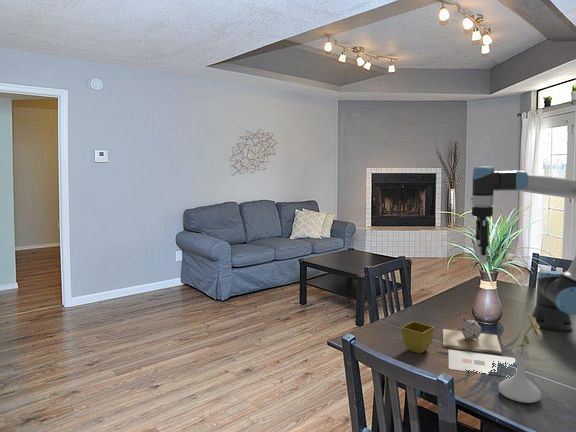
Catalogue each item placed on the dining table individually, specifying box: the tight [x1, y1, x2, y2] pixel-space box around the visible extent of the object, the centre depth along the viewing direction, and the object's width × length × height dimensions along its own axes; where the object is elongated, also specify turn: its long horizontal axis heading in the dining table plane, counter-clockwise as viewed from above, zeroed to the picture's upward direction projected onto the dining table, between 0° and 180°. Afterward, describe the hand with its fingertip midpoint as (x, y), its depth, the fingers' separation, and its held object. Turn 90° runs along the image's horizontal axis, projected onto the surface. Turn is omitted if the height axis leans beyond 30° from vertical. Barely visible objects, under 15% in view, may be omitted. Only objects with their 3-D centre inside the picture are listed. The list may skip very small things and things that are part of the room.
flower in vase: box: [497, 312, 543, 404], centre depth 130 cm, size 13×11×25 cm
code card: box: [447, 349, 516, 378], centre depth 152 cm, size 22×16×1 cm
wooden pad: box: [442, 328, 502, 355], centre depth 170 cm, size 20×16×1 cm
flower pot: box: [401, 321, 435, 354], centre depth 163 cm, size 9×9×9 cm
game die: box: [457, 317, 485, 341], centre depth 169 cm, size 9×8×10 cm
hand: (481, 259), depth 175 cm, fingers open, 13 cm apart
